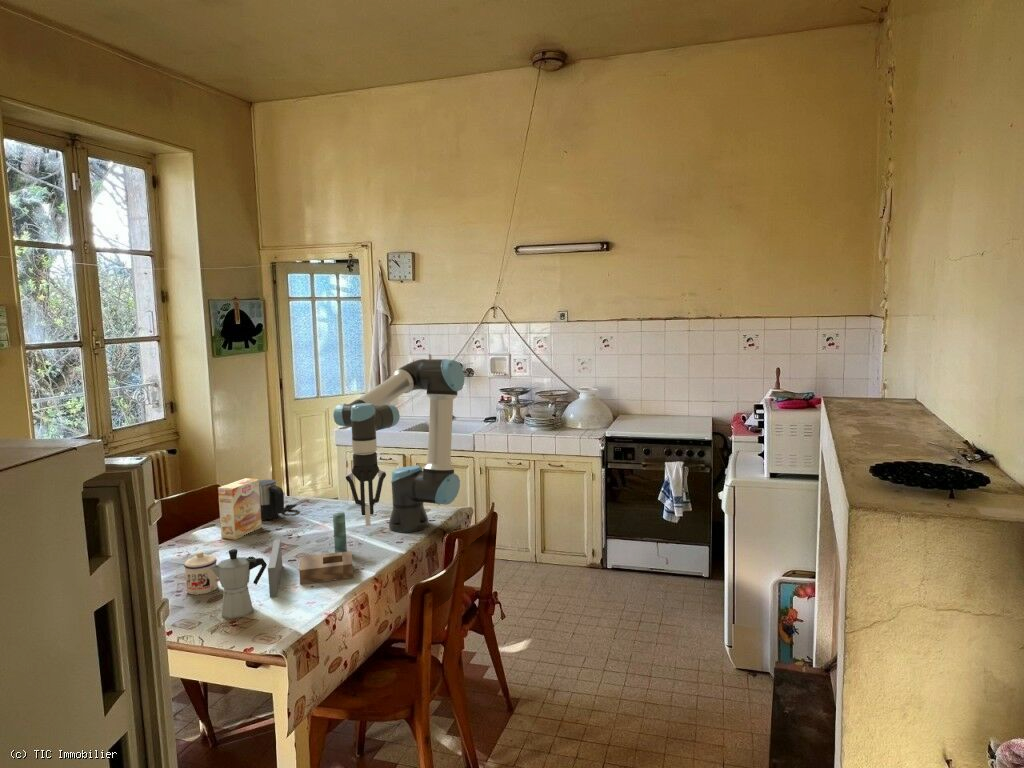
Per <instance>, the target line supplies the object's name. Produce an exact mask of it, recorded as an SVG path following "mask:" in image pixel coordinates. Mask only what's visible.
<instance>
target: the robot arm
mask: <svg viewBox="0 0 1024 768" xmlns="http://www.w3.org/2000/svg"><path fill="white" fill-rule="evenodd" d="M464 385H465V372H464V370H463V367H462V365H461V364H460V362H459V361H457V360H455V359H447V358H443V359H440V358H439V359H438V358H437V359H436V358H435V359H434V358H433V359H432V358H431V359H430V358H429V359H427V358H423V359H418V360H413V361H411V362H409V363H407V364H405V365H403V366H401V367H400V368H398V369H396V370H395V371H394V372H393V373H392V374H391V376H390V377H389V378H387V379H386V380H384V381H383V382H381V383H380V384H378V385H377V386H374V387H373V388H372V389H370V390H369V391H367V392H366V393H365V394H363V395H361V396H360V397H357V398H356V399H355V400H353V401H352V402H350V403H342V404H340V403H339V404H338V405H336V407H334V409H333V414H332V415H333V416H332V417H333V421H334V422H335V424H336V425H337V426H341V427H346V428H348V427H349V428H351V436H352V437H351V442H352V443H351V444H352V445H351V446H352V447H351V449H352V453H353V454H352V468H351V472H349V473H347V474H346V475H345V480H346V481H347V482H348V484H349V487H350V490H351V493H352V498H353V500H354V502H355V503H354V504H355V505H359V506H360V510H361V516H364V520H365V527H367V526H368V527H370V526H372V525H371V523H372V522H371V515H374V513H375V512H374V511H375V510H374V505H375V504H378V503H379V502H380V498H381V493H382V487H383V483H384V479H385V478H386V476H387V473H386V471H385V470H384V471H383V470H382V469H380V468H379V466H378V453H377V450H378V448H377V431H382V430H384V429H390V428H392V427H394V426H396V425H397V424H398V423H399V421H400V419H401V418H400V417H401V416H400V411H399V409H398V408H397V407H396V406H395V405H394V404H390V403H391V402H393V401H395V400H396V399H397V398H399V397H400V396H402V395H403V394H409V393H411V392H412V391H418V390H424V391H426V396H427V397H428V398H429V400H430V401H429V419H428V420H429V422H428V443H427V445H428V446H427V448H428V449H427V463H426V464H425V465H423V467H422V466H421V465H418V464H415V465H407V466H404V467H398V468H396V469H394V470H393V471H391V481H390V482H391V493H392V494H391V495H392V509H391V510H392V511H391V514H390V516H389V521H388V527H389V529H390V531H393V532H397V533H412V532H413V531H414V532H419V531H422V530H425V529H427V528H428V527H429V526H428V525H430V524H429V523H430V522H429V517H428V515H427V511H426V509H425V506H424V503H429V504H434V505H435V504H436V505H444V506H445V505H450V504H452V503H453V502H454V501H455V500H456V498H457V496H458V494H459V491H460V486H461V483H460V482H461V480H460V476H459V475H458V474H456V473H455V467H454V466H453V465H452V464H451V457H452V456H451V455H452V439H453V435H452V434H453V415H454V414H453V413H454V401H455V399H456V398H457V397H458V392H460V391H462V389H464V388H463V387H464ZM377 475H378V480H377V481H378V482H377V486H376V489H375V490H376V491H375V494H374V487H373V486H374V485H373V484H374V483H373V480H374V479H375V478H376V476H377ZM354 477H355V478H356V479H357V481H359V491H360V499H359V496H358V493H357V490H356V487H355V483H354ZM365 482H367V483H368V484H367V485H368V503H366V496H365V491H366V490H365ZM426 527H427V528H426ZM424 528H425V529H424ZM418 530H419V531H418Z"/></svg>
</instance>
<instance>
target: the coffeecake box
mask: <svg viewBox="0 0 1024 768" xmlns="http://www.w3.org/2000/svg"><path fill="white" fill-rule="evenodd" d="M259 481H260V480H259V478H249V477H248V478H246V477H245V478H242V479H239V480H236V481H234V482H231V483H228V484H224V485H222V486H218V487H217V491H218V492H217V493H218V505H219V506H218V507H219V520H220V521H219V523H220V535H221V539H228V540H234V541H235V540H238V539H240V538H242V537H245V536H247V535H248V533H249V534H251V533H252V532H255V531H258V530H259V529H261V527H263V525H262V520H261V508H260V492H259ZM254 530H255V531H254ZM250 532H251V533H250ZM246 534H247V535H246ZM244 535H245V536H244Z"/></svg>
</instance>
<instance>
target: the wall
mask: <svg viewBox="0 0 1024 768" xmlns="http://www.w3.org/2000/svg"><path fill="white" fill-rule="evenodd" d="M269 557H270V558H269V562H268V565H267V572H268V573H267V576H268V577H267V578H268V588H269V590H268V591H269V598H270V599H271V598H278V594H279V587H280V582H281V575H282V570H283V556H282V541H281V539H280V538H279V539H274V540H273V545H272V548H271V553H270V556H269Z"/></svg>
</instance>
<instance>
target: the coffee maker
mask: <svg viewBox="0 0 1024 768" xmlns="http://www.w3.org/2000/svg"><path fill="white" fill-rule="evenodd" d="M228 554H229V558H228V559H227V558H226V559H224V560H221V561H219V563H218V564H216V566H213V567H211V568H209V569H211V570H212V571H213V572H214V573H215V574H216V576H217V579H218V578H219V580H220V581H219V582H220V587H222V588H223V595H222V606H221V617H222V618H225V619H230V620H233V619H238V618H243V617H246V616H248V615H249V614H251V613H253V612H254V608H253V604H252V599H251V595H250V591H249V586H248V585H249V583H250V574H251V570H253V569H255V568H257V567H258V566H261V567H260V568H259V571H258V573H257V574H256V576H255V578H254V579H253V584H254V585H255V586H257V585H258V582H259V581H260V579H261V577H262V576H263V573H264V571H265V569H266V568H267V567H268V565H267V564H268V563H266V561H265V559H264V558H262V557H257V558H256V557H254V556H248V557H246V556H244V557H243V556H238V549H236V548H232V549H230V550H228Z"/></svg>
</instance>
